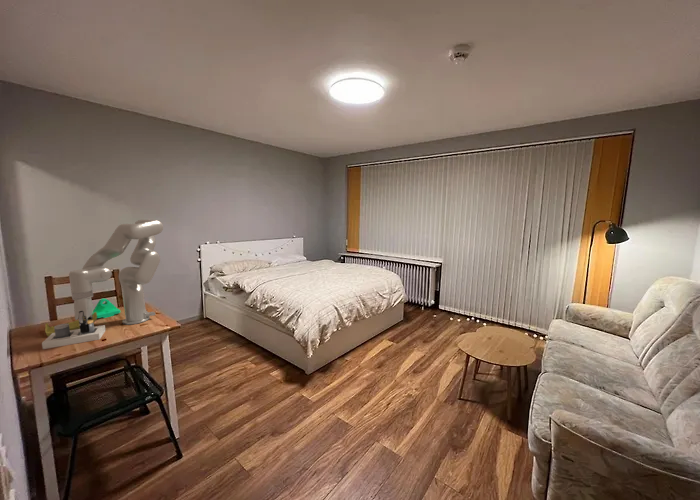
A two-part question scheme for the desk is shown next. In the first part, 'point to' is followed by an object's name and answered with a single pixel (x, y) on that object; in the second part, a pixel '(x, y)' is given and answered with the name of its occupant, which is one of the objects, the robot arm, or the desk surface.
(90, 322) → the gray jar
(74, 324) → the plastic component
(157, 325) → the desk surface
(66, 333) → the grey cylinder
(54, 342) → the tray
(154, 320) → the desk surface
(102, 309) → the camera mount
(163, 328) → the desk surface
